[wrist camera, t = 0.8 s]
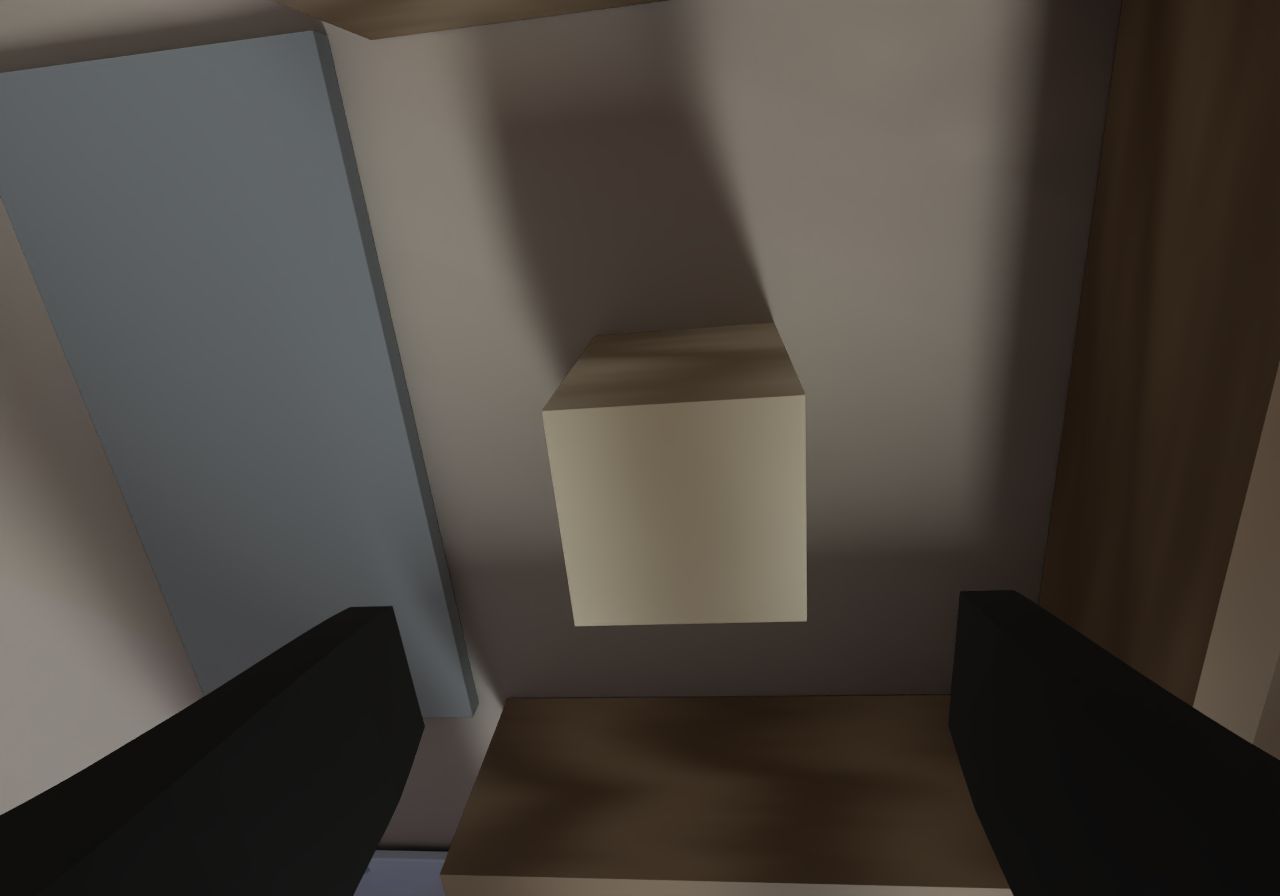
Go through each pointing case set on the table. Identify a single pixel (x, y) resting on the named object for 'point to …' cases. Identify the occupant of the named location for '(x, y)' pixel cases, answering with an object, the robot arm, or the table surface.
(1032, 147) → the table surface
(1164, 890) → the robot arm
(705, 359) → the block
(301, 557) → the mat
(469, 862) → the wooden u-shaped frame
